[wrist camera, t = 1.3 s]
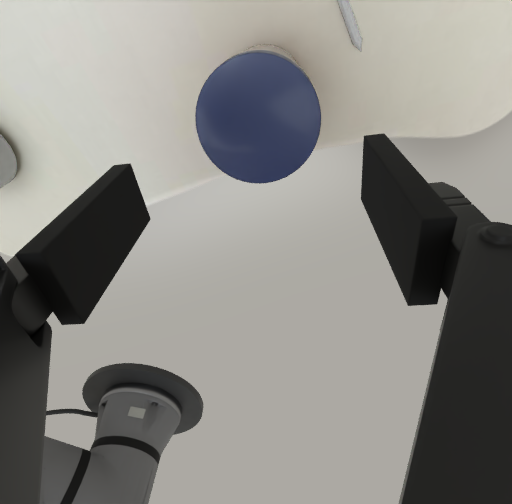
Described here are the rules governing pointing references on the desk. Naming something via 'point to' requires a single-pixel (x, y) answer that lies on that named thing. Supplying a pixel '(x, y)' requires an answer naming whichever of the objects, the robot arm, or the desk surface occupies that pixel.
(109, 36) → the desk surface
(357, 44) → the pencil
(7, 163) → the can
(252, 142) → the lid
